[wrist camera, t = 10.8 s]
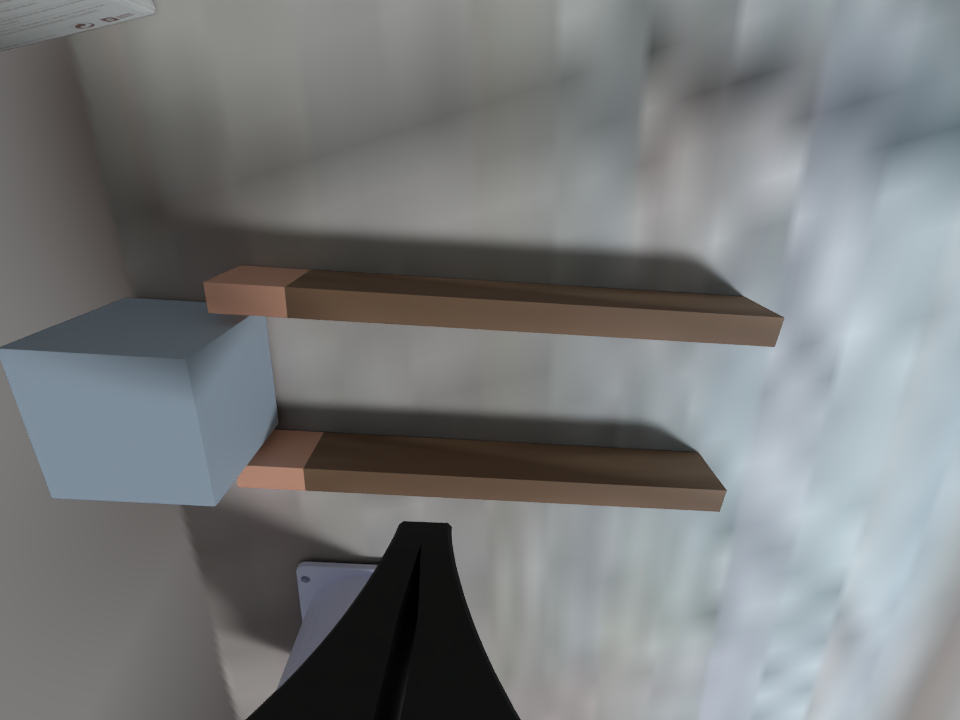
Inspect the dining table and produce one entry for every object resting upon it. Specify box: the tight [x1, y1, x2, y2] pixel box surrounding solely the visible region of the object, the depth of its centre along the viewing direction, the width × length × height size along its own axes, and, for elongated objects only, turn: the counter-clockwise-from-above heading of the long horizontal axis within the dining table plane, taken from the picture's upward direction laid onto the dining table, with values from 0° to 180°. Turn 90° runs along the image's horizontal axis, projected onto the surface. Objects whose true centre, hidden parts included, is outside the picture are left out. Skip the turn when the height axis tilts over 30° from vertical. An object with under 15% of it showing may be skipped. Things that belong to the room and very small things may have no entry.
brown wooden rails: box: [203, 265, 784, 512], centre depth 21 cm, size 9×22×3 cm, turn 86°
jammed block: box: [0, 297, 279, 506], centre depth 19 cm, size 6×6×6 cm
